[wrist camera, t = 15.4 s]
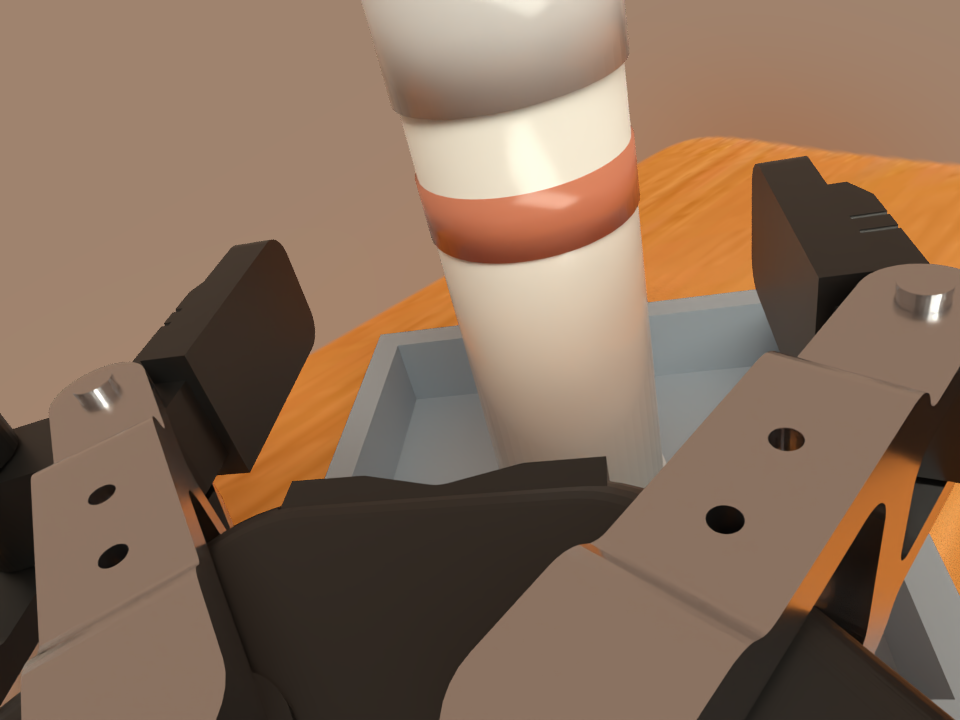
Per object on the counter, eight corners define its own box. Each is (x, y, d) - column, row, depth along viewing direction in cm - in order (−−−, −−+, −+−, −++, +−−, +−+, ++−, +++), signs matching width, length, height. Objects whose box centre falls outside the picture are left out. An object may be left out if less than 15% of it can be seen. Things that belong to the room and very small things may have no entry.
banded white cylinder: (511, 598, 18) (324, 0, 10) (520, 477, 21) (385, -44, 13) (682, 591, 17) (624, -71, 9) (664, 466, 21) (610, -99, 13)
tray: (278, 809, 16) (221, 741, 14) (404, 400, 27) (380, 334, 25) (995, 832, 13) (1035, 750, 11) (803, 360, 24) (807, 283, 22)
